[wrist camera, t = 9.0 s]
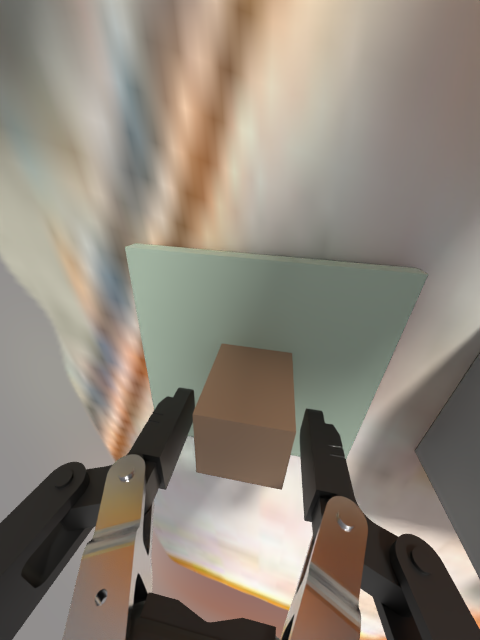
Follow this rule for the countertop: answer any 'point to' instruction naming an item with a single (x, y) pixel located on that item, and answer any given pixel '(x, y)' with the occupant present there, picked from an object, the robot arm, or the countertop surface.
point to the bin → (458, 461)
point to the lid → (266, 346)
